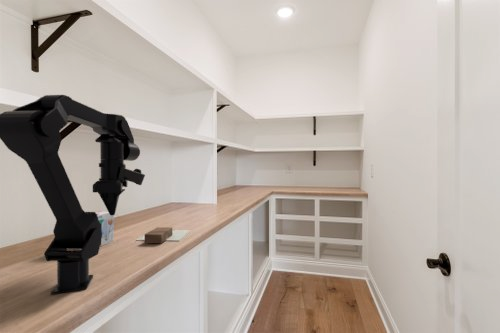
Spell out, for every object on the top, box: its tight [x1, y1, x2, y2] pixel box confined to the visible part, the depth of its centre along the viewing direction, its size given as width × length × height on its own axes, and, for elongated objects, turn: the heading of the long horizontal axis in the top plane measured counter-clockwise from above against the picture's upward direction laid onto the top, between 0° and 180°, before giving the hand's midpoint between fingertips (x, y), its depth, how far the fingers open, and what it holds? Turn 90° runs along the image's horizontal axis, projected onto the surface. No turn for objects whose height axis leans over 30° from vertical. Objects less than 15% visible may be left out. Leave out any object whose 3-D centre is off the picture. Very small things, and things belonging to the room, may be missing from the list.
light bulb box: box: [77, 210, 115, 251], centre depth 84 cm, size 11×7×11 cm, turn 168°
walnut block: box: [144, 226, 173, 244], centre depth 89 cm, size 3×6×10 cm
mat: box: [135, 229, 192, 242], centre depth 95 cm, size 14×16×1 cm
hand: (112, 215), depth 69 cm, fingers closed
